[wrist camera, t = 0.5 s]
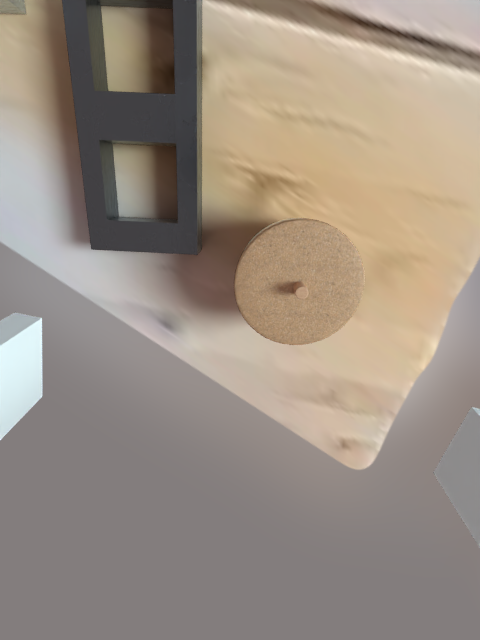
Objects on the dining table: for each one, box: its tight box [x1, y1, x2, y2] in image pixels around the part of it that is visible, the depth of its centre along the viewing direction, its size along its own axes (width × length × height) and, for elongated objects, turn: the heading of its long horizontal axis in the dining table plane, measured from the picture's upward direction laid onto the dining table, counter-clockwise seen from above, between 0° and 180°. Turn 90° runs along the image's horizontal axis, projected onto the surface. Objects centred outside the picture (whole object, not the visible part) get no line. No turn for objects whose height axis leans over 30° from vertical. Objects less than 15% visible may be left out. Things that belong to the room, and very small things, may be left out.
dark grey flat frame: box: [62, 0, 202, 255], centre depth 29 cm, size 22×10×3 cm, turn 178°
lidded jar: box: [234, 218, 365, 345], centre depth 31 cm, size 11×11×9 cm
